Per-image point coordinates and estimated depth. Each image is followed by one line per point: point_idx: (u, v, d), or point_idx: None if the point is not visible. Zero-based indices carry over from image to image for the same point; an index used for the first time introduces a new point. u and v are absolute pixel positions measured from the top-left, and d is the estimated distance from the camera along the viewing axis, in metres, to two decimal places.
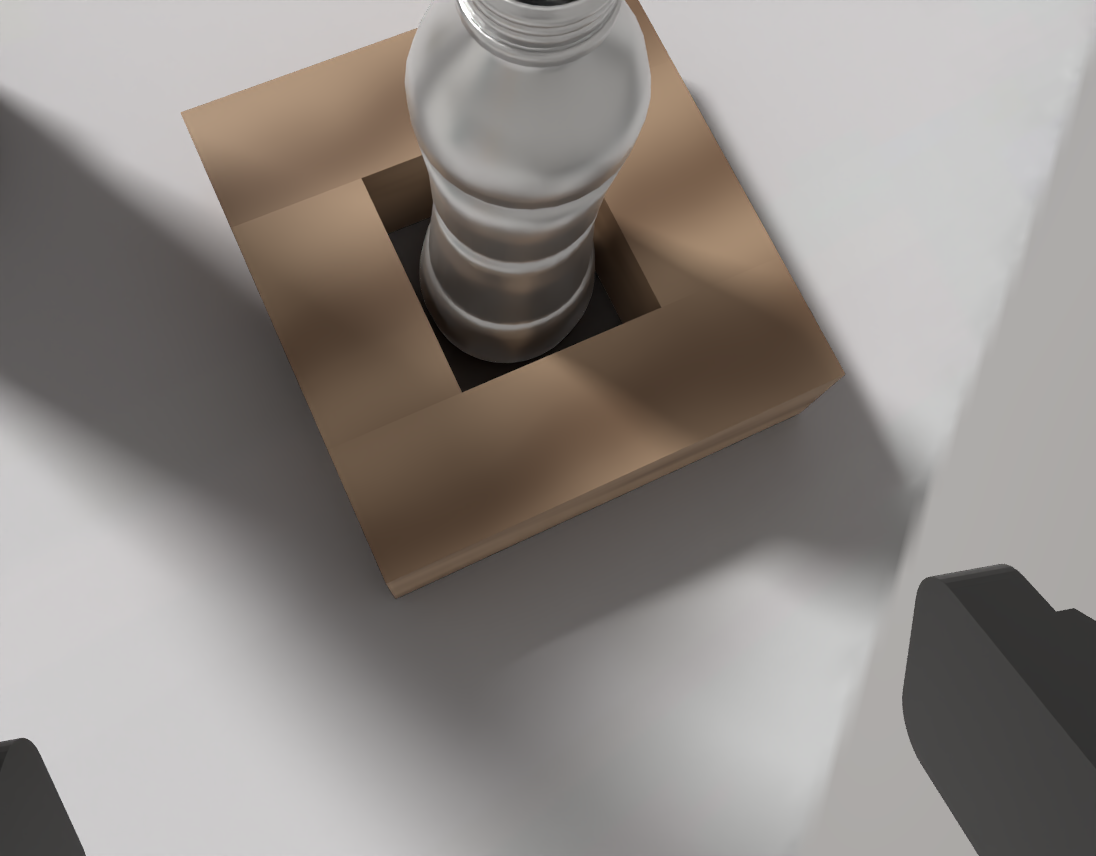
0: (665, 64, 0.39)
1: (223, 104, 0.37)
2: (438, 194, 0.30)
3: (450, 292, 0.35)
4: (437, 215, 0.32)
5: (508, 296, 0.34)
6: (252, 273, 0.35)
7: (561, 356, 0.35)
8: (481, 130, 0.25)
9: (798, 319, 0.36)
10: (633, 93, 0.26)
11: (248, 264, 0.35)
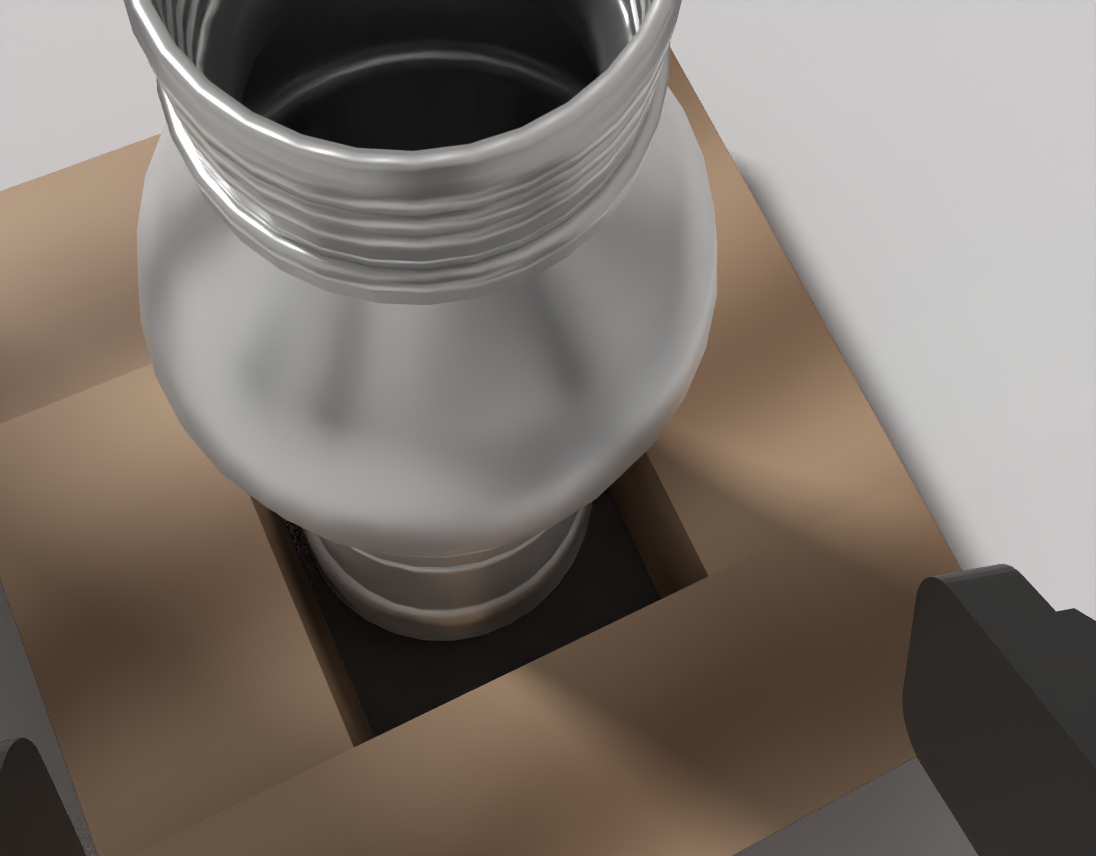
0: (710, 143, 0.23)
1: None
2: None
3: (336, 560, 0.20)
4: None
5: (432, 589, 0.18)
6: None
7: (532, 672, 0.20)
8: (290, 422, 0.10)
9: None
10: (683, 310, 0.10)
11: None
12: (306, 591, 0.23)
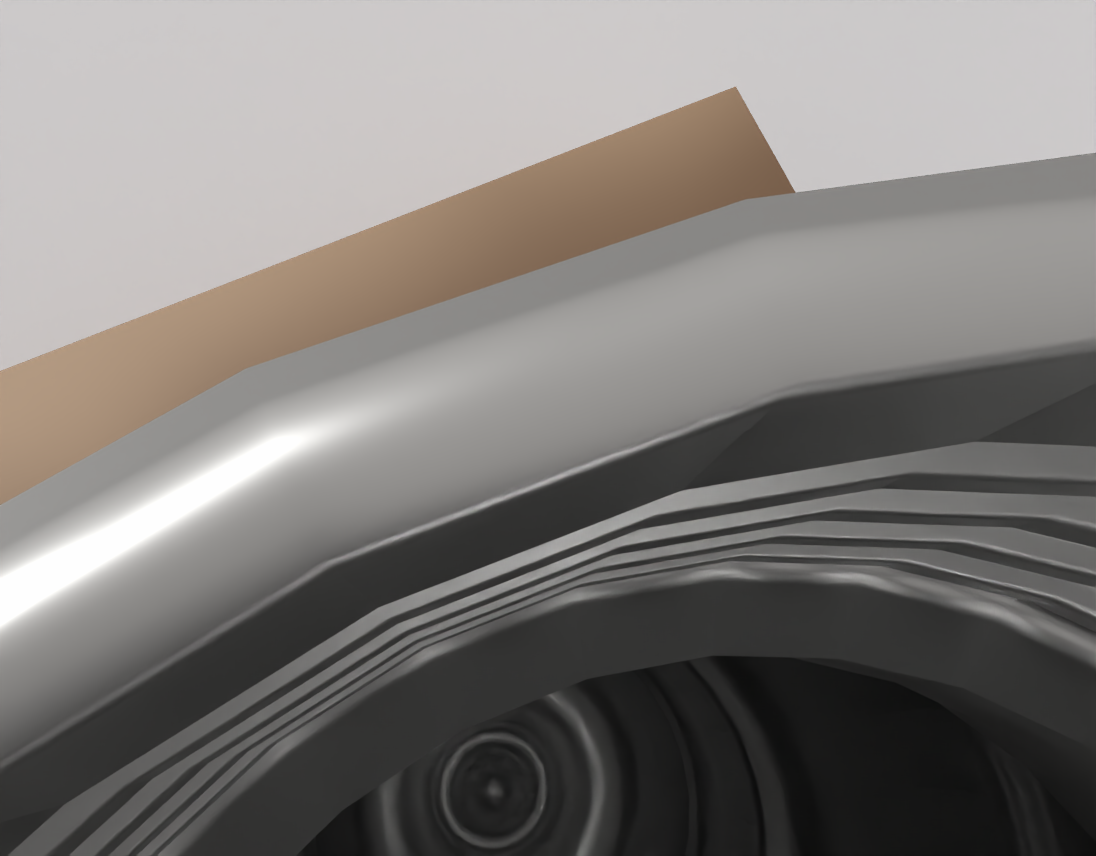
0: None
1: None
2: None
3: None
4: None
5: None
6: None
7: None
8: None
9: None
10: None
11: None
12: None
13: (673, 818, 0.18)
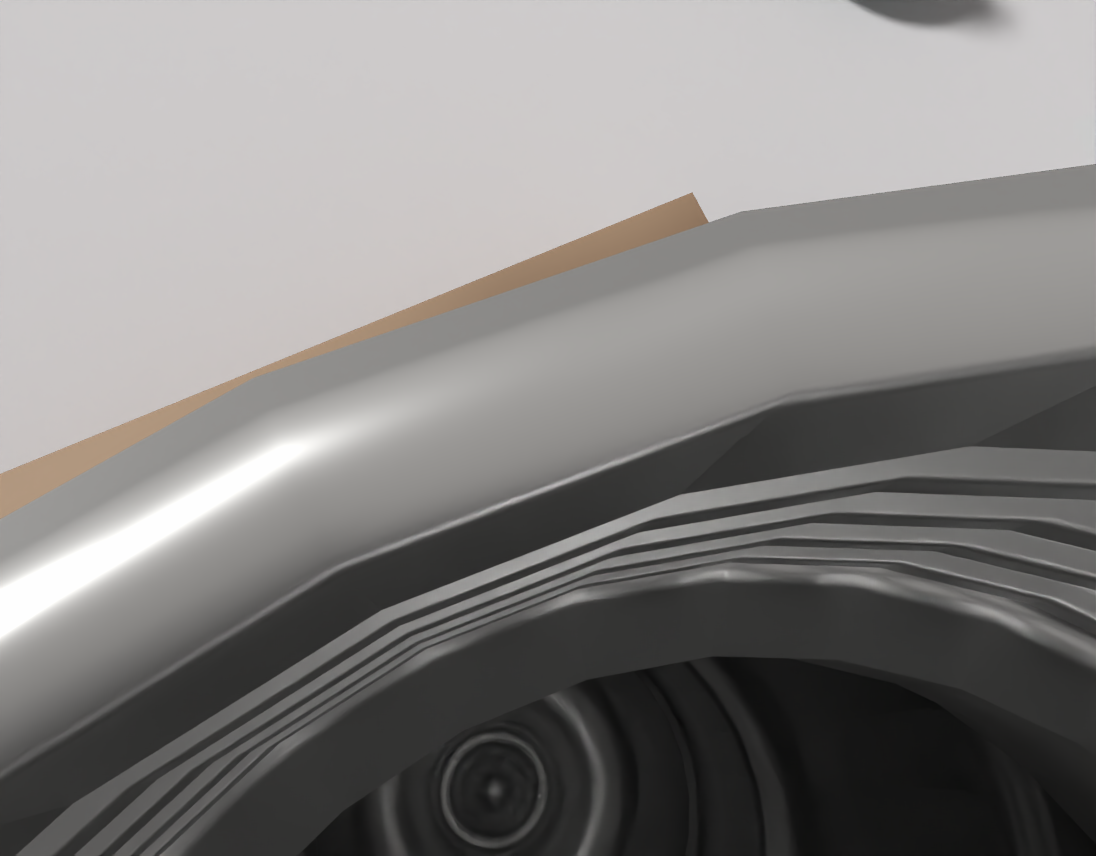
0: None
1: None
2: None
3: None
4: None
5: None
6: None
7: None
8: None
9: None
10: None
11: None
12: None
13: (673, 818, 0.18)
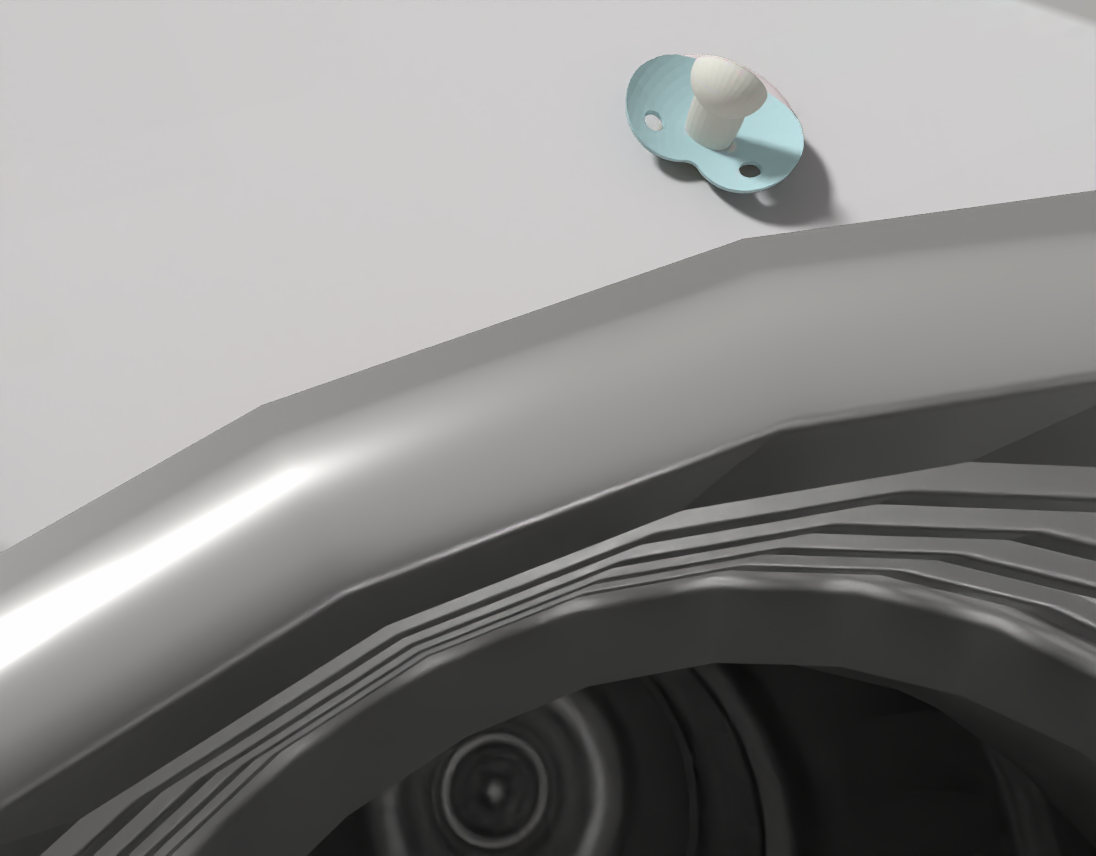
0: None
1: None
2: None
3: None
4: None
5: None
6: None
7: None
8: None
9: None
10: None
11: None
12: None
13: (674, 819, 0.18)
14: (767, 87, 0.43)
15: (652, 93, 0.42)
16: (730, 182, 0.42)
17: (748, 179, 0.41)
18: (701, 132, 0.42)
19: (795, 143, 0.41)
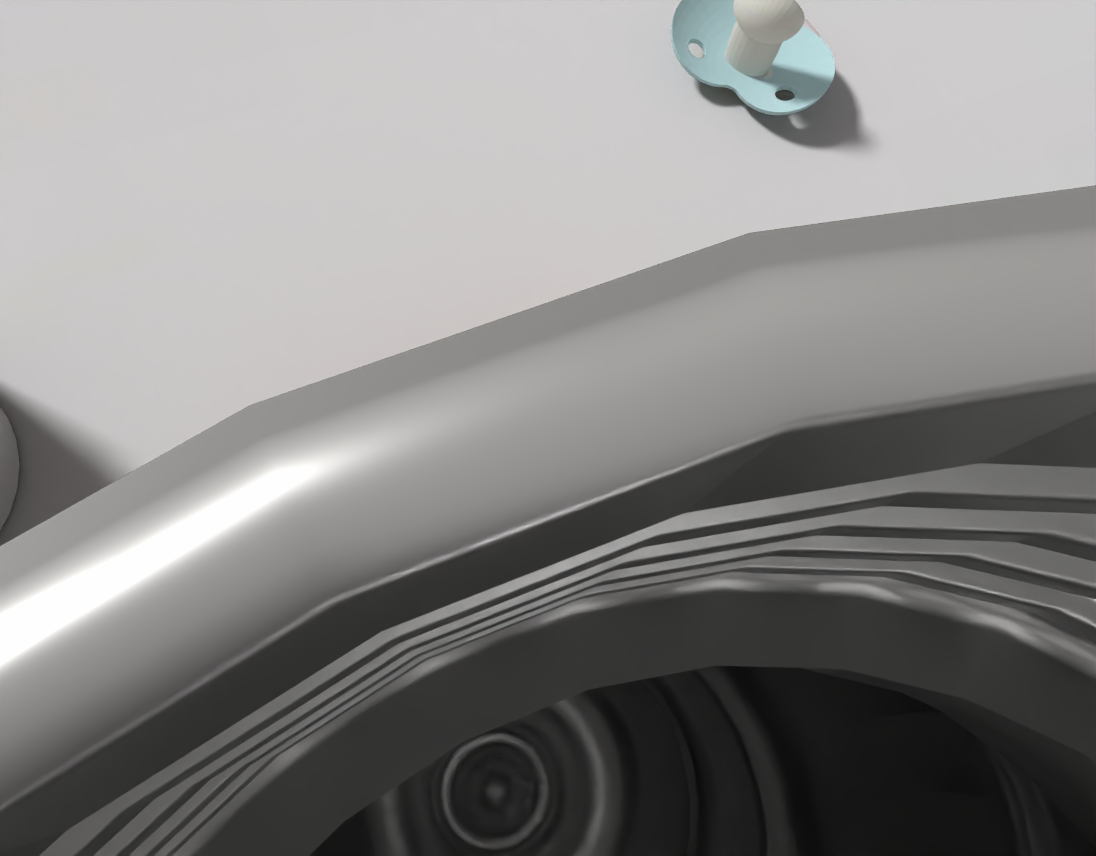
0: None
1: None
2: None
3: None
4: None
5: None
6: None
7: None
8: None
9: None
10: None
11: None
12: None
13: (674, 819, 0.18)
14: None
15: (695, 23, 0.45)
16: (767, 104, 0.45)
17: (783, 102, 0.45)
18: (740, 59, 0.45)
19: (827, 69, 0.45)
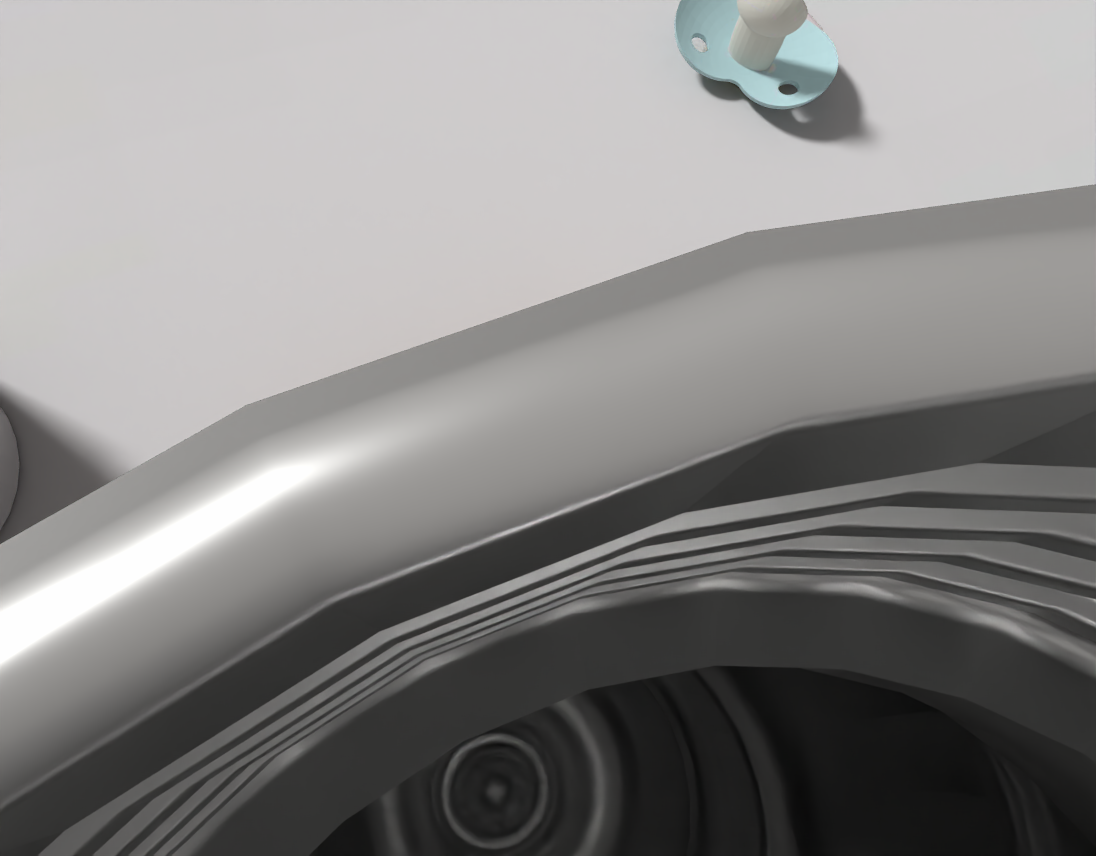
0: None
1: None
2: None
3: None
4: None
5: None
6: None
7: None
8: None
9: None
10: None
11: None
12: None
13: (674, 819, 0.18)
14: None
15: (698, 17, 0.46)
16: (770, 98, 0.45)
17: (787, 96, 0.45)
18: (744, 53, 0.45)
19: (830, 63, 0.45)
